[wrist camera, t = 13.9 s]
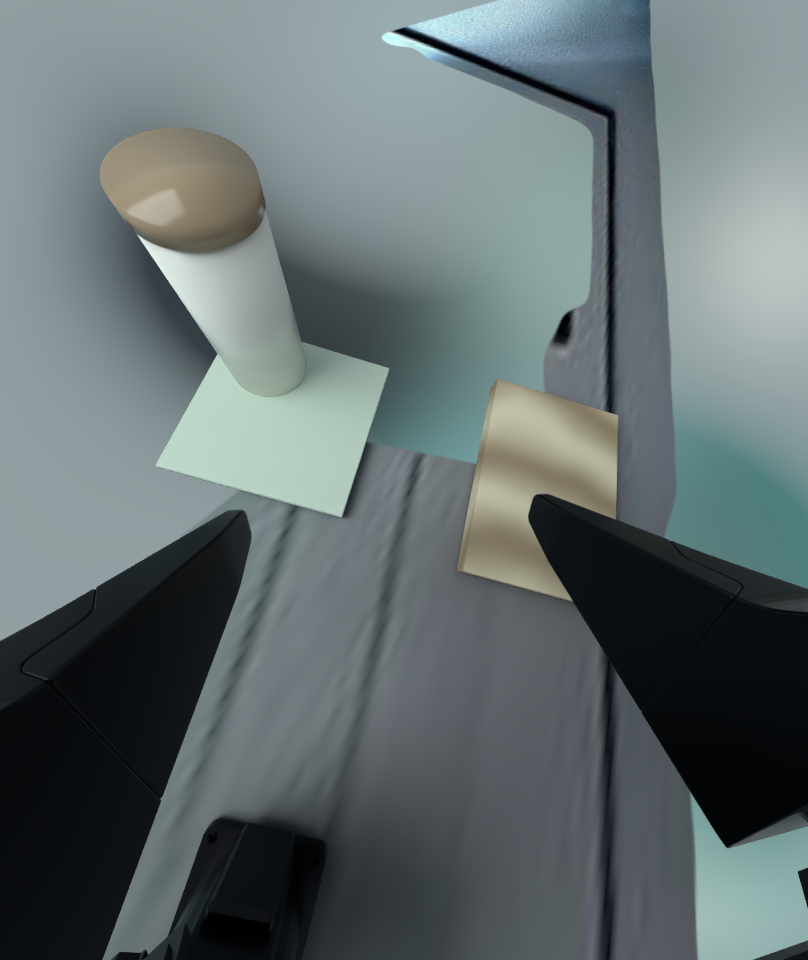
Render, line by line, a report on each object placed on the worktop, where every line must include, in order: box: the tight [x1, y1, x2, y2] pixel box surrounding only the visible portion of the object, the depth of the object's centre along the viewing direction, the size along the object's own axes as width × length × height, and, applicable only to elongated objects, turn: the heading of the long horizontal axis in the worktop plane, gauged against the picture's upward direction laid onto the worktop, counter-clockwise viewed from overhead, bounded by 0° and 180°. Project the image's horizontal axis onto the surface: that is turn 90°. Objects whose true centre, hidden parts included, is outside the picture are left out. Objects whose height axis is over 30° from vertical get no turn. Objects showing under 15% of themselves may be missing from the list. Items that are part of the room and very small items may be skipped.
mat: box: [156, 342, 389, 518], centre depth 23 cm, size 13×13×1 cm
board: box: [457, 379, 618, 603], centre depth 23 cm, size 16×11×2 cm
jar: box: [100, 128, 307, 397], centre depth 18 cm, size 6×6×12 cm
